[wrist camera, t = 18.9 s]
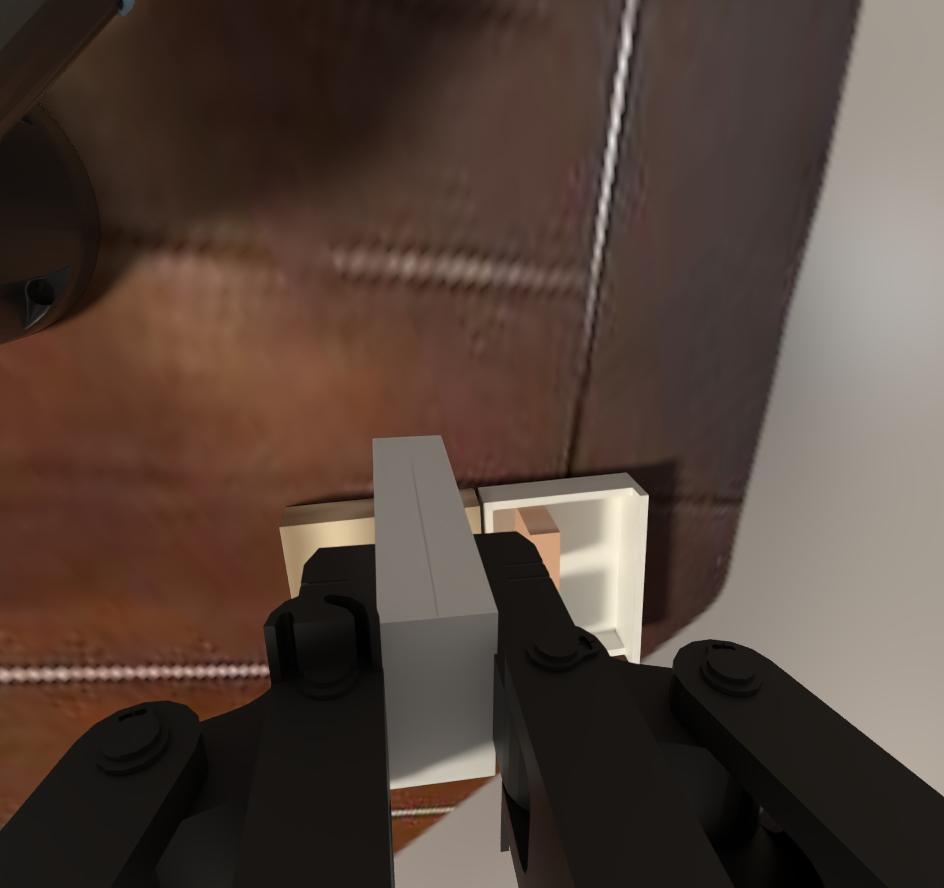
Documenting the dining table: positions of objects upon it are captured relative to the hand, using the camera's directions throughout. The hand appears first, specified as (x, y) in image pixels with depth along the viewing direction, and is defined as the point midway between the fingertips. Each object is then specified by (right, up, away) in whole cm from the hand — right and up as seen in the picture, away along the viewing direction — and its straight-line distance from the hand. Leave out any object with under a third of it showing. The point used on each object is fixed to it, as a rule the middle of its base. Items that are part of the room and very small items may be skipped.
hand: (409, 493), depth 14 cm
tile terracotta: (+5, -6, +29) cm, 30 cm away
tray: (+8, -8, +33) cm, 35 cm away
